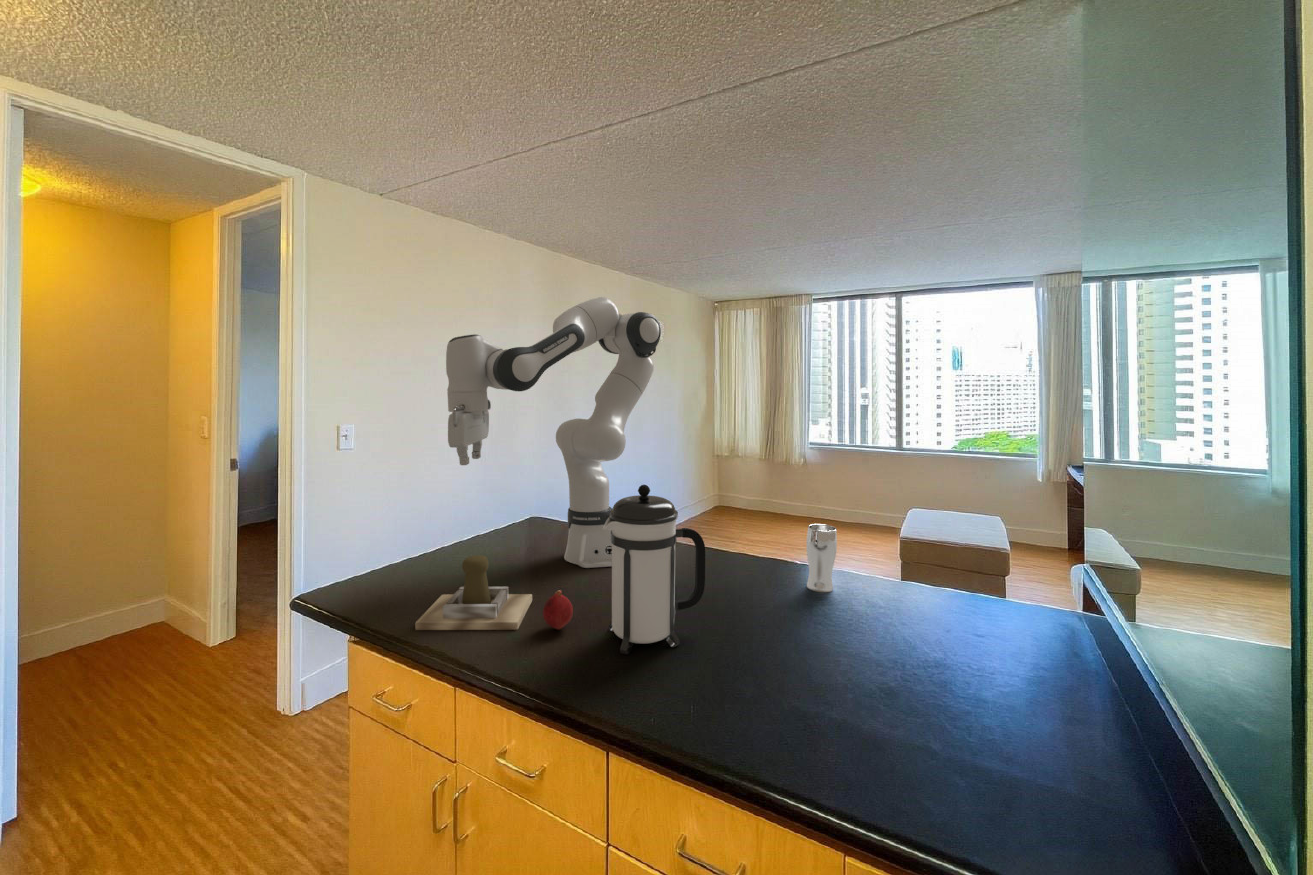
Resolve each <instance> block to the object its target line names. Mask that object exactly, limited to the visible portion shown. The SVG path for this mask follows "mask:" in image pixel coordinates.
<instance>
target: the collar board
mask: <svg viewBox="0 0 1313 875" xmlns="http://www.w3.org/2000/svg"><path fill="white" fill-rule="evenodd" d="M488 587H489V594H490V600H491V604H462V600H463V591H464V586H460V587H459V588H458V589H457V590H456V592H454V594H453V593H452V594H448V593H447V594H441V595H440V596H439V597H438V598H437V599H436V600H435V601H434V603H433V604H431V606H429V608H428V609H427V610H426V611H425V612H424V613H423V614H422V615H421V616H420V617H419V618H418V619H417V620H416V621H415V622H414V626H415V631H468V630H469V631H474V630H475V631H476V630H477V631H482V630H483V631H486V630H488V631H490V630H491V631H492V630H493V631H495V630H497V631H498V630H499V631H500V630H501V631H502V630H503V631H504V630H506V631H508V630H510V631H511V630H518V629H519V628H520V626H521V624H522V622H523V620H524V618H525V616H526V613H527V612H528V610H529V608H530V605H531V603H532V602H533V594H531V593H527V594H526V593H521V594H520V593H516V594H515V593H509V586H488Z"/></svg>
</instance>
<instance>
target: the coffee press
mask: <svg viewBox="0 0 1313 875" xmlns="http://www.w3.org/2000/svg"><path fill="white" fill-rule="evenodd" d="M637 492H638V495H630V496H626V497H623V498H621V499H619V500H617V501H616V502H615V503H614V505H613V506H612V508H613V509H612V510H611V511H610V516H609V518H608V519H607V521H606V522H605V524H604V527H603V530H611V543H612V566H611V622H610V623H609V625H608V630H609V632H612V633H613V632H614V634H615V635H616V636H617V637H618V638H619V639H622V642H621V645H620V648H619V652H620V653H621V654H623V655H629V654H630V652H631V650H632V648H633V646H634V644H652V643H653V644H654V643H657V642H659V641H662V640H664V641H666V642H667V644H668V645H669V647H671V648H672V649H674V648H676V647H677V646H678V645H679V644H680V639H679V637H678V636H677V633H676V632H675V617H676V611H681V610H685V609H689V608H692V607H694V606H695V605H697V603H699V602H700V601H701V599H702V597H703V595H704V592H705V585H706V545H705V541H704V539H703V537H702V536H701V534H700V533H699V532H698V531H696V530H695V529H693V528H689V527H682V528H676V526H677V525H676V523H677V519H678V517H679V512H678V511H677V510H676V508H675V505H674V503H673V502H671V501H670V500H669V499H667V498H665V497H661V496H657V495H649V494H650V492H651V489H650V486H648V485H647V484H642V485H640V486H639V487H638V489H637ZM677 538H686V539H690V540H692V542H693V543H694V546H695V547H694V548H695V565H694V566H695V571H694V574H695V576H694V581H695V582H694V589H693V592H692V594H690V596H688V597H687V598H683V599H676V598H675V594H676V591H675V590H676V588H675V587H676V543H677ZM675 599H676V600H675ZM670 636H671V638H670ZM672 639H673V640H672Z"/></svg>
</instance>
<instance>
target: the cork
mask: <svg viewBox="0 0 1313 875" xmlns="http://www.w3.org/2000/svg"><path fill="white" fill-rule="evenodd" d="M461 565H462V567H461V568H462V570H463V573H464V574H465V576H464V585H463V587H464V591H463V600H462V604H491V600H490V594H489V587H490V586H489V582H488V576H487V570H488V569H489V560H488V558H487V556H485V555H482V554H481V555H480V554H479V555H477V554H475V555H471V556H468V557H465V558H464V560H463V561H462V564H461Z"/></svg>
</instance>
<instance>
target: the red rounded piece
mask: <svg viewBox="0 0 1313 875" xmlns="http://www.w3.org/2000/svg"><path fill="white" fill-rule="evenodd" d="M562 593H563V592H562V590H561V589H560V590H557V591H556V592H555V593H554V594H553V595H551V596H550V597H549V598H548V599H547V600H546V602H545V604H544V606H543V609H542V618H543V620H544V622H545V623H546V624H547V625H548V626H549V627H551V628H553V629H556V630H557V631H559V630H561V629H563V628H564V627H565V626H566V625H567V624H568V623H569V622H570V621H571V620H572V617H573V612H574V608H573V604H572V603H571V601H570V599H568V597H567V596H565V595H564V594H562Z"/></svg>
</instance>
